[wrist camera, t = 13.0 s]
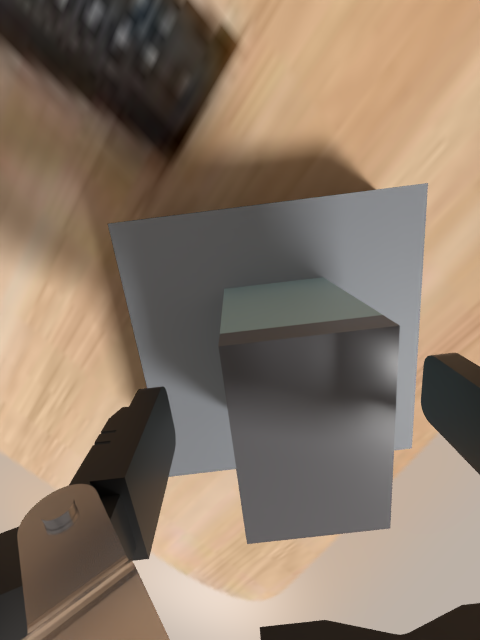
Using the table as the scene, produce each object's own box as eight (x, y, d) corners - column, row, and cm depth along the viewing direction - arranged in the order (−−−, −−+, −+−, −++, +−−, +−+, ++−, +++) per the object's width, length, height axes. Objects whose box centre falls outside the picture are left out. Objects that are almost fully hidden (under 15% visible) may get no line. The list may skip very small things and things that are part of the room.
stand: (138, 222, 16) (107, 223, 12) (379, 191, 15) (428, 183, 12) (180, 425, 19) (168, 476, 15) (375, 402, 19) (411, 448, 15)
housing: (224, 288, 13) (218, 346, 7) (323, 277, 13) (399, 325, 7) (240, 415, 14) (247, 543, 9) (327, 405, 14) (390, 528, 9)
